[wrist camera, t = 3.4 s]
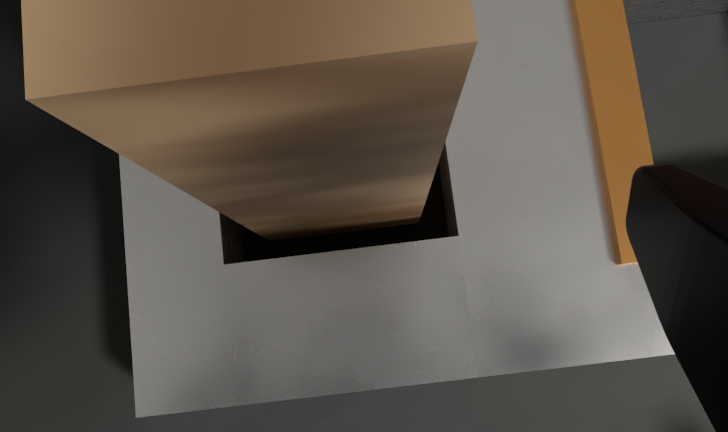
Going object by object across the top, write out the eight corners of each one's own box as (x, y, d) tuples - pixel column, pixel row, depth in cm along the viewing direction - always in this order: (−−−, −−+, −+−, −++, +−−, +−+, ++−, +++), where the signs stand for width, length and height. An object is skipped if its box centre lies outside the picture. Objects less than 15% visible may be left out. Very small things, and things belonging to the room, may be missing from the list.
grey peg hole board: (169, 403, 19) (131, 419, 16) (139, -21, 20) (99, -72, 18) (950, 311, 18) (1051, 311, 15) (844, -114, 20) (917, -182, 17)
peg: (269, 241, 19) (25, 99, 6) (256, 98, 20) (8, -293, 7) (418, 223, 19) (478, 41, 6) (399, 79, 20) (418, -354, 7)
